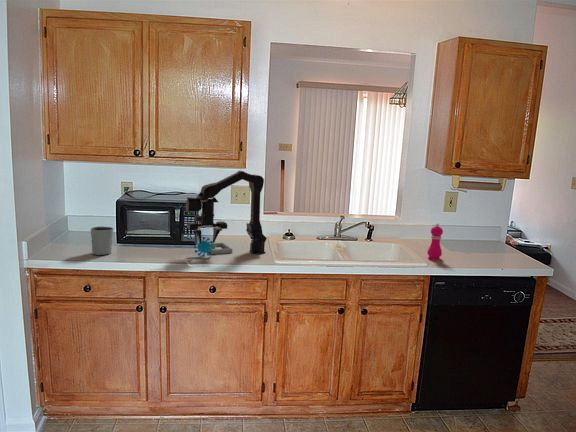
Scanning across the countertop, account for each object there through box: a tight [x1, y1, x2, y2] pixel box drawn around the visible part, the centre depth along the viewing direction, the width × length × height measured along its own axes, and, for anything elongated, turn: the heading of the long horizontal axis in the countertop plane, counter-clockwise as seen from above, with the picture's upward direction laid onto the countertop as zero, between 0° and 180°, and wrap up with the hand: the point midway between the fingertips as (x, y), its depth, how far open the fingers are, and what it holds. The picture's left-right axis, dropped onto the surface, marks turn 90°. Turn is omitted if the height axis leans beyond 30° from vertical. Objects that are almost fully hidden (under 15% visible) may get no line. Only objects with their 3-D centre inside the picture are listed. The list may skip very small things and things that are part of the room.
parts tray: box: [208, 242, 233, 255], centre depth 249 cm, size 11×15×2 cm
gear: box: [193, 236, 216, 258], centre depth 237 cm, size 11×6×10 cm, turn 88°
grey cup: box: [90, 226, 114, 256], centre depth 232 cm, size 10×10×12 cm
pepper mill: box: [427, 223, 444, 261], centre depth 250 cm, size 7×7×20 cm
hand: (206, 243), depth 235 cm, fingers open, 6 cm apart
